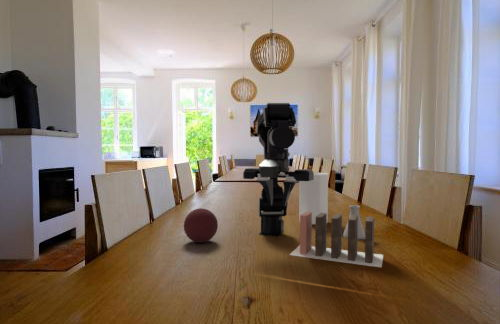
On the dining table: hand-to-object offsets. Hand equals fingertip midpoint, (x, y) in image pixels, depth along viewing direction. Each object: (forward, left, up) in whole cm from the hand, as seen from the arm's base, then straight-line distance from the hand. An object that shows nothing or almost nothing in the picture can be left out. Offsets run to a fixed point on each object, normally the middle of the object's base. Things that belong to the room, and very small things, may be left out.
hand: (277, 205), depth 91 cm
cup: (+1, +38, -12) cm, 40 cm away
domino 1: (+8, 0, -12) cm, 14 cm away
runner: (+16, 0, -12) cm, 20 cm away
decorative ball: (-23, -3, -12) cm, 26 cm away
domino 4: (+20, 0, -12) cm, 23 cm away
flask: (+18, +21, -12) cm, 30 cm away
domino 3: (+16, 0, -12) cm, 20 cm away
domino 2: (+12, 0, -12) cm, 17 cm away
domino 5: (+24, 0, -12) cm, 27 cm away
